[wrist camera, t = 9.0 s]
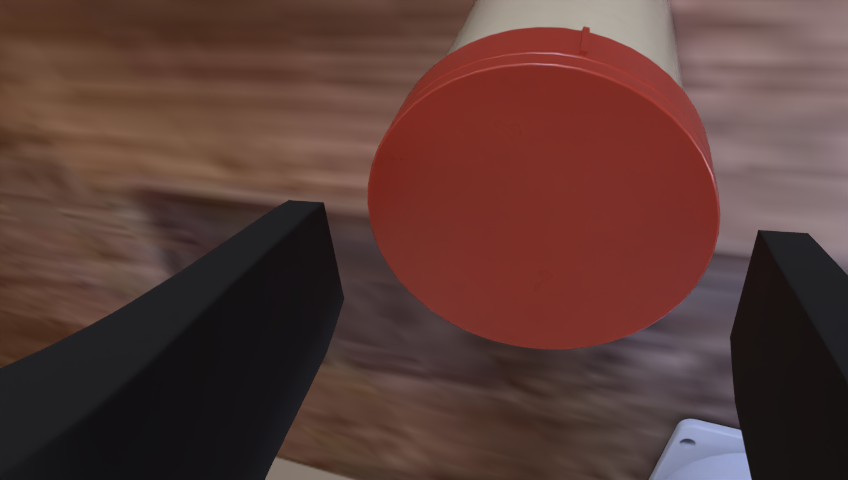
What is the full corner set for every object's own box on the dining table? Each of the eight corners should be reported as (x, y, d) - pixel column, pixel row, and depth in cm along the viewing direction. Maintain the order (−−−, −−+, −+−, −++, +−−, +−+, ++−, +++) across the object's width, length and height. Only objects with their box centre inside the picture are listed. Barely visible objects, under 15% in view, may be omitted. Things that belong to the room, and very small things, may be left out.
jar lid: (409, -15, 11) (382, 18, 9) (775, 66, 10) (793, 111, 9) (377, 257, 14) (356, 304, 13) (644, 327, 14) (645, 383, 13)
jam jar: (645, 142, 19) (654, 335, 13) (462, 117, 19) (393, 287, 14) (699, -55, 15) (742, 83, 10) (476, -75, 16) (392, 41, 10)
